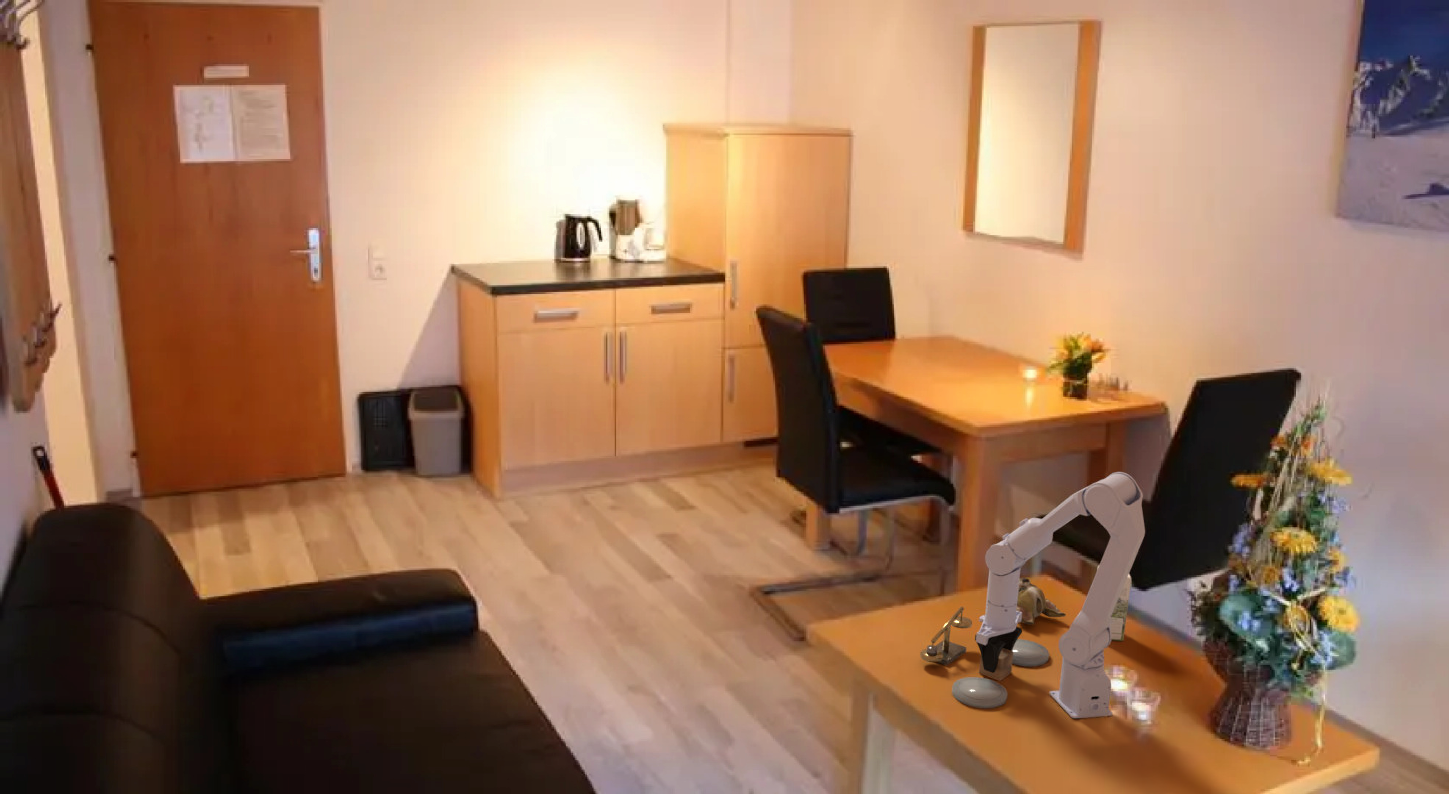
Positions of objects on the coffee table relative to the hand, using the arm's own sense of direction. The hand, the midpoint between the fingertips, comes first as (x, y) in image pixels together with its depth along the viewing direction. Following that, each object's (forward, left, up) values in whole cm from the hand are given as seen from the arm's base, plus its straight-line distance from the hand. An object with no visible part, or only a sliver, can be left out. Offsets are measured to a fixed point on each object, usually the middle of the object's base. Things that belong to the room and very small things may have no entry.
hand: (995, 666), depth 230 cm
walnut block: (0, 0, -1) cm, 1 cm away
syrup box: (+13, -31, -2) cm, 33 cm away
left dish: (-8, +7, -1) cm, 10 cm away
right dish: (+6, -9, -1) cm, 11 cm away
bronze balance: (+9, +7, -1) cm, 11 cm away
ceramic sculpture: (+24, -17, -2) cm, 30 cm away
